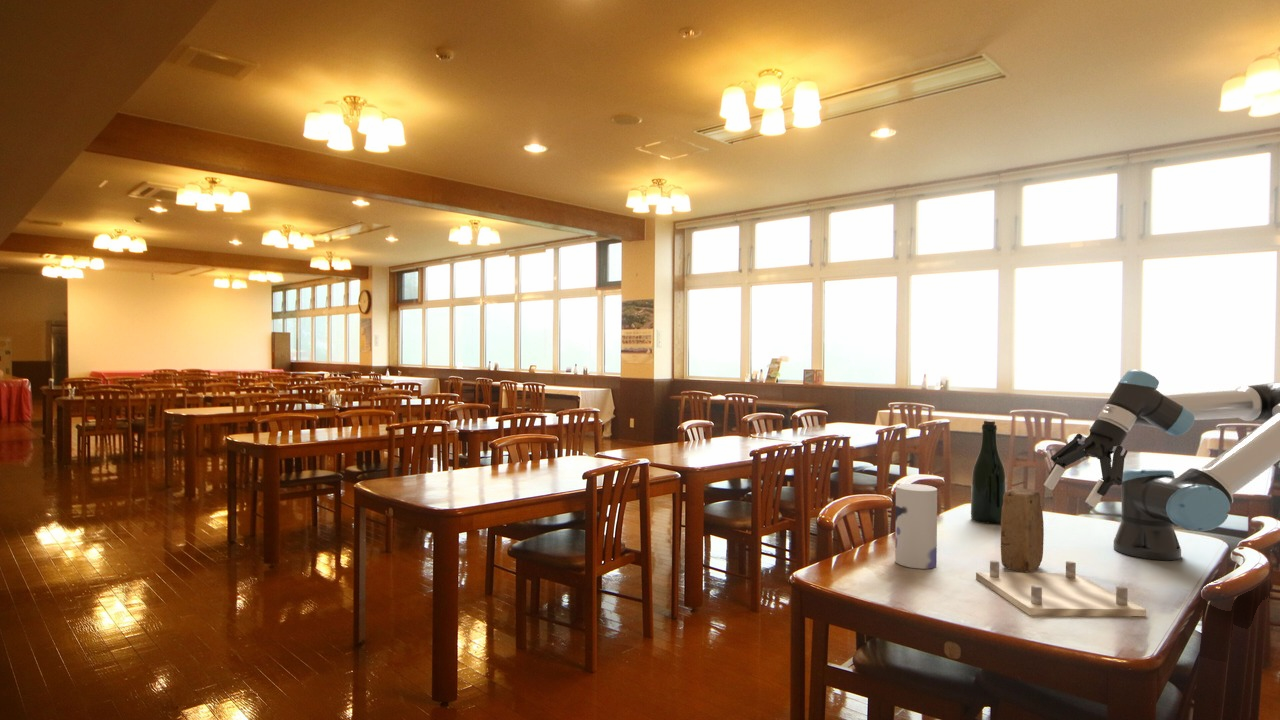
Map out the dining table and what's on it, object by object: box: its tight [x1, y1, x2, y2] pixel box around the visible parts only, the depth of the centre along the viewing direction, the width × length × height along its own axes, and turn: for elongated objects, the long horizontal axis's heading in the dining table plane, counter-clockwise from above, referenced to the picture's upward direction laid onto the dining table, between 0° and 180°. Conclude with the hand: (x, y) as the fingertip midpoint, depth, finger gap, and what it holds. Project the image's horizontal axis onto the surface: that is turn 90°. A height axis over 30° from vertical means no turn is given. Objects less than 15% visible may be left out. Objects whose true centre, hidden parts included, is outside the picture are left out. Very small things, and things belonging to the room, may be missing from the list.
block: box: [1000, 487, 1045, 573], centre depth 178 cm, size 11×8×20 cm
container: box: [894, 483, 938, 570], centre depth 182 cm, size 10×10×20 cm
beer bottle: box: [970, 420, 1007, 525], centre depth 229 cm, size 10×10×33 cm
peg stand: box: [975, 560, 1147, 617], centre depth 158 cm, size 24×24×5 cm
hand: (1068, 495), depth 180 cm, fingers open, 13 cm apart
